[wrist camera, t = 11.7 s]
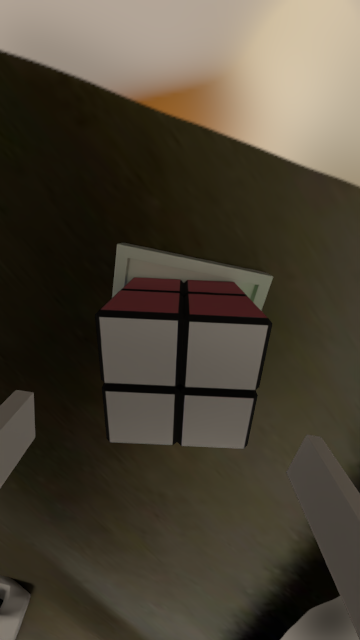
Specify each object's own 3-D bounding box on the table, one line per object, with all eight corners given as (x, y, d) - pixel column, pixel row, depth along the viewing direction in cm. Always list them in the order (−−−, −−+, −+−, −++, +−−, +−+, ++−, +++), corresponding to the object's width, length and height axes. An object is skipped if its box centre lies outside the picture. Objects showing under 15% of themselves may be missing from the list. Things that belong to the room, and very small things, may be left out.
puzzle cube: (130, 276, 22) (91, 310, 13) (236, 281, 22) (275, 319, 13) (134, 367, 26) (105, 446, 16) (224, 371, 26) (248, 452, 16)
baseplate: (110, 366, 27) (104, 378, 25) (123, 242, 22) (117, 243, 20) (226, 387, 28) (230, 400, 26) (265, 272, 23) (273, 276, 21)
